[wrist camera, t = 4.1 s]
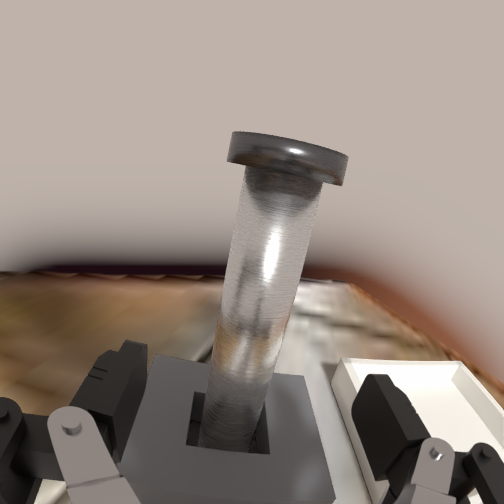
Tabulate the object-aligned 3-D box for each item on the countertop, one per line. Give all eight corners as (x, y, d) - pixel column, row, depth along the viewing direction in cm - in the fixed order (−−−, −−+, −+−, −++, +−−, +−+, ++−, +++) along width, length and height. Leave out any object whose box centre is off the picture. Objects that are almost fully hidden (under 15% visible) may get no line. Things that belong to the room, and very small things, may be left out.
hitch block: (119, 501, 12) (112, 476, 11) (155, 383, 22) (156, 354, 21) (316, 520, 13) (335, 498, 12) (293, 403, 23) (303, 375, 22)
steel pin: (181, 472, 15) (230, 126, 10) (189, 419, 19) (233, 136, 14) (260, 481, 15) (366, 158, 10) (257, 428, 20) (329, 157, 15)
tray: (387, 548, 10) (414, 528, 9) (330, 383, 26) (341, 357, 25) (524, 488, 11) (546, 465, 11) (448, 382, 28) (460, 361, 27)
